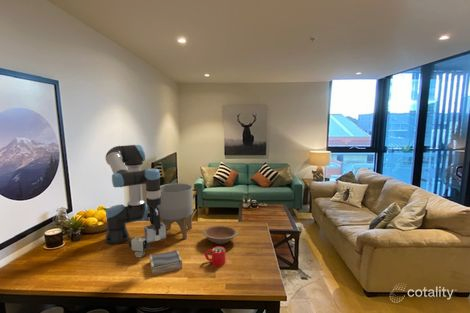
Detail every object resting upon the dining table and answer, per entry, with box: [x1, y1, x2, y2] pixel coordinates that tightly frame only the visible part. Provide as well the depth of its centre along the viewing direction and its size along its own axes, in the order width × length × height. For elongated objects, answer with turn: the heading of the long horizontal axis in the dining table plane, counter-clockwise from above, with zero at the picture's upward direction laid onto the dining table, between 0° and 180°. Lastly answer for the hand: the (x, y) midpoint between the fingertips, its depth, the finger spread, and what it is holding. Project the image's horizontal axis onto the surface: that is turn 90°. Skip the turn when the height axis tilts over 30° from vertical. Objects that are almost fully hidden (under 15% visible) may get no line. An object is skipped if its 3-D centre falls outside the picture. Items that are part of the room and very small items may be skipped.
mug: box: [204, 246, 226, 267], centre depth 151 cm, size 8×12×8 cm, turn 86°
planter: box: [157, 182, 194, 240], centre depth 187 cm, size 25×25×34 cm
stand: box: [149, 248, 183, 276], centre depth 148 cm, size 14×16×5 cm
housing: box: [144, 223, 167, 243], centre depth 144 cm, size 10×6×7 cm, turn 121°
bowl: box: [202, 224, 239, 245], centre depth 176 cm, size 24×24×8 cm
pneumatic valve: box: [128, 236, 151, 258], centre depth 158 cm, size 6×12×12 cm, turn 78°
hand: (155, 237), depth 145 cm, fingers closed on housing, 6 cm apart
